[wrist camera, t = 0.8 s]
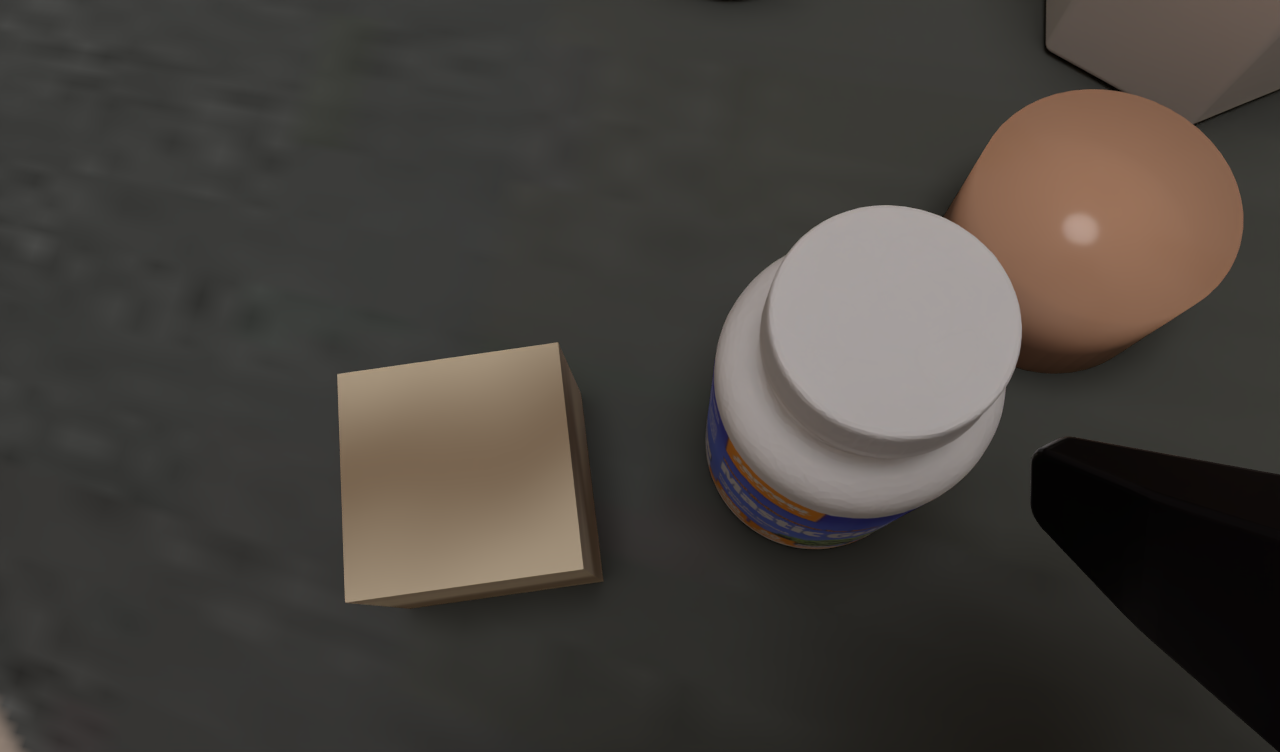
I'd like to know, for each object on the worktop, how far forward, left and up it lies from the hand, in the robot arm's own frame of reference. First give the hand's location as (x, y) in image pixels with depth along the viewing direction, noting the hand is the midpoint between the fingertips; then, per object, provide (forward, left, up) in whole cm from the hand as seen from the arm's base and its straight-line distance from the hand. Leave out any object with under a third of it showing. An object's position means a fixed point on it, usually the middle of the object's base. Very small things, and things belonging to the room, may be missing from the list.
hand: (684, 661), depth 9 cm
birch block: (+5, +3, -14) cm, 15 cm away
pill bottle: (+3, -5, -14) cm, 15 cm away
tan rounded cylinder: (+5, -13, -14) cm, 19 cm away
